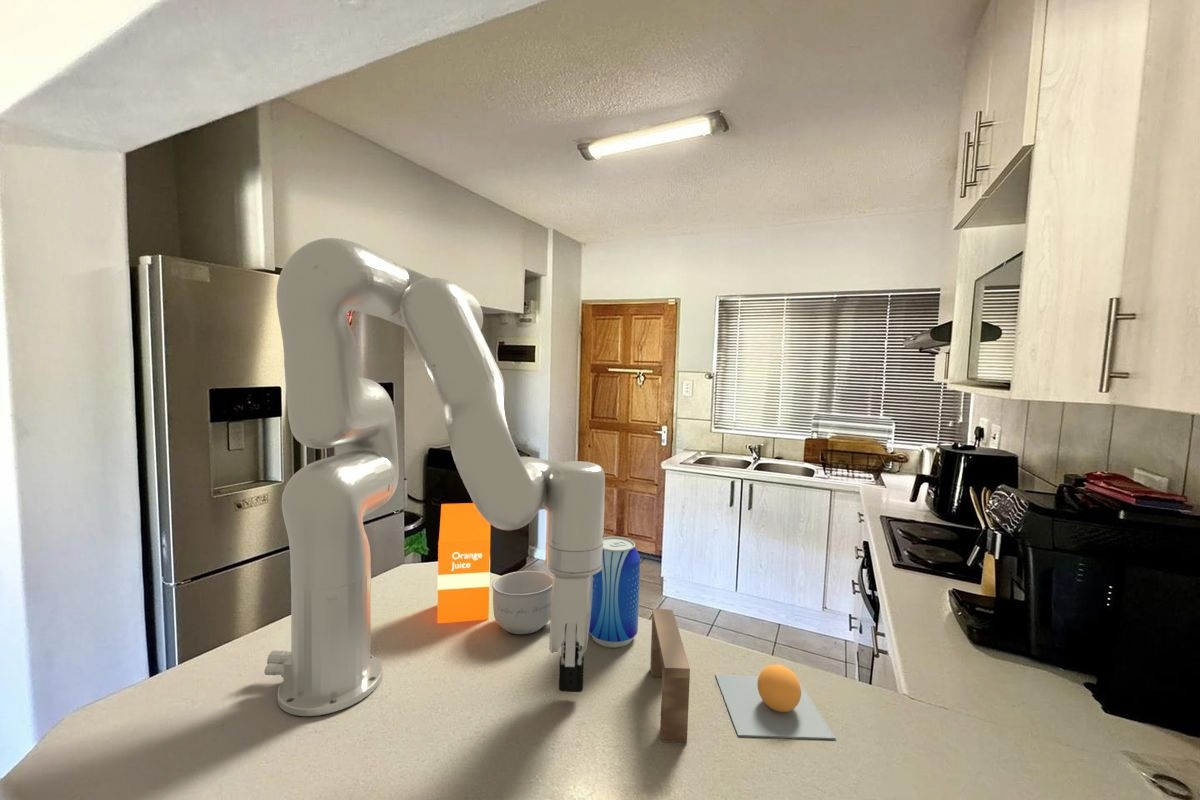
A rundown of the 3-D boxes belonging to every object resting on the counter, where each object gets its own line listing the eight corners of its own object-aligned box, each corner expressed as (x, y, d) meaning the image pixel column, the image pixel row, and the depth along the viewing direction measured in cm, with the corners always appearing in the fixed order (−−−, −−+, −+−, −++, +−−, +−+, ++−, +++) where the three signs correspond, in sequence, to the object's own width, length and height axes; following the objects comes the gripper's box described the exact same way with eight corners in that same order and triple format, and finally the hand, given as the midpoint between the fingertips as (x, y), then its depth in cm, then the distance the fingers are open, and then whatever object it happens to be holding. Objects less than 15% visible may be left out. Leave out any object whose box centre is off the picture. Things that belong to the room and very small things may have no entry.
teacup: (489, 644, 78) (490, 595, 78) (493, 611, 89) (494, 568, 89) (575, 639, 80) (576, 592, 80) (569, 607, 91) (570, 566, 91)
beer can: (634, 653, 77) (637, 554, 76) (582, 646, 78) (585, 549, 78) (640, 626, 85) (643, 537, 84) (593, 620, 87) (596, 532, 86)
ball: (806, 723, 62) (764, 721, 62) (790, 695, 68) (751, 693, 68) (809, 681, 62) (765, 679, 62) (792, 657, 68) (753, 655, 68)
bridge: (662, 741, 58) (664, 667, 58) (650, 668, 73) (652, 608, 72) (687, 742, 58) (690, 668, 58) (670, 669, 73) (672, 609, 72)
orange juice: (489, 619, 86) (491, 508, 85) (436, 623, 84) (438, 510, 83) (489, 599, 94) (491, 497, 92) (441, 602, 92) (442, 498, 91)
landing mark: (737, 736, 60) (738, 734, 60) (715, 675, 72) (715, 674, 72) (835, 739, 60) (835, 737, 60) (796, 678, 72) (796, 676, 72)
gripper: (552, 535, 72) (549, 655, 73) (539, 577, 57) (535, 727, 58) (602, 537, 72) (599, 656, 73) (602, 579, 57) (598, 729, 58)
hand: (571, 687), depth 66 cm, fingers closed
